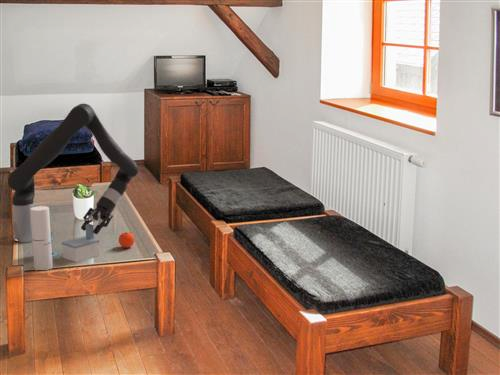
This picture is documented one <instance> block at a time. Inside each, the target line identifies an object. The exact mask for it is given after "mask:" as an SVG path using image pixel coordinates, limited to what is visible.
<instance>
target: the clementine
mask: <svg viewBox="0 0 500 375" xmlns="http://www.w3.org/2000/svg"><path fill="white" fill-rule="evenodd" d="M118 244H119V245H120V246H121V247H122V248H125V249H126V248H127V249H128V248H131V247H132V246H133V245H134V244H135V236H134V234H132V233H131V231H124V232H122V233H121V234H119V237H118Z"/></svg>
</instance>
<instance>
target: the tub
mask: <svg viewBox="0 0 500 375" xmlns="http://www.w3.org/2000/svg"><path fill="white" fill-rule="evenodd" d="M61 245H62V257H63V259H66V260H68V261H72V262H75V263H77V262H81V261H85V260H88V259H89V260H90V259H93V258H96V257H99V256H100V246H99V245H100V241H99V242H98V243H94V244H90V245H87V246H83V247H79V248H72V247H69V246H66V245H63V244H62V243H61Z"/></svg>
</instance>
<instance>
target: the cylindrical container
mask: <svg viewBox="0 0 500 375" xmlns="http://www.w3.org/2000/svg"><path fill="white" fill-rule="evenodd" d="M30 210H31V225H32V240H33V241H32V252H33V268H34V270H35V271H37V270H46V271H49V269H50V270H52V269H53V268H54V267H53V258H52V250H53V249H52V242H51V233H50V230H51V220H50V208H49V206H45V205H39V206H34V207H33V208H31V209H30Z"/></svg>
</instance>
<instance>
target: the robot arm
mask: <svg viewBox="0 0 500 375" xmlns="http://www.w3.org/2000/svg"><path fill="white" fill-rule="evenodd" d="M83 128H87V129H88V130H89V132H90V133H91V134H92V135H93V137H94V140H96V142H97V144H98V146H99V148H100V150H101V152H103V154H104V155H105V157H107V159H108V160H109V161H110V162H111V163H112V164H116V165H117V167H119V169H118V170H117V172H116V174H115V176H114V178H113V179H112V181H111V182H110V184H109V185H108V187H107V188H106V189H105V191H104V192H103V193H102V195H101V196H100V198H99V199H98V200H97V201H96V204H95V206H96V207H95V209H93V208H92V207H89V209H88V210H87V212H86V213H85V214H84V216H83V217H82V219H83V220H84V222H83V224H82V225H81V227H80V229H81V230H82V231H85V232H86V226H85V225H87V224H91V223H92V222H96V221H98V224H97V225H96V226H95V227H94V230H93V232H94V235H98V234H99V232H100V231H101V230H102V229H103V228H107V227H108V226H109V223H110V222H111V220H112V219H113V217H114V215H113V214H112V212H113V211H114V210H115V208H116V207H117V206H118V204H119V202H120V200H121V198H122V196H123V195H124V193H125V191H127V188H128V185H129V183H130V181H132V179H133V178H134V177H136V176H137V175H138V174H139V166H138V165H137V163H136V162H135V161H134V159H132V158H131V156H129V155H128V154H126V152H124V150H123V149H122V148H121V147H120V146H119V144H118V143H117V142H116V141H115V139H114V138H113V137H112V136H111V135H110V134H109V131H107V129H106V128H105V126H104V125H103V123H102V122H101V120H100V118H99V117H98V115H97V113H96V112H95V110H94V108H93V107H92V106H91V105H89V104H87V103H80V104H77V105H75V106H74V107H73V108H72V109H71V110H70V111H69V112H68V114H67V115H66V116H65V118H64V119H63V120H62V122H61V123H60V124H59V125H58V126H57V127H56V128H55V129H54V130H52V131H51V132H50V133H48V135H47V136H46V137H45V138H44V139H42V141H41V142H40V143H39V144H37V146H36V147H35V149H34V150H33V151H31V153H30V154H29V155H28V157H27V158H26V159H25V160H24V162H22V163H21V164H20V165H19V166H17V168H15V169H14V170H13V171H12V172H10V173H9V175H8V178H7V185H8V187H9V188H10V189H11V190H13V191H14V194H13V196H12V199H11V203H12V216H13V220H12V227H13V239H14V240H15V239H17V240H18V241H19V242H18V243H31V242H33V240H32V225H31V210H30V209H31V208H33V207H35V205H34V198H35V190H36V189H35V188H36V187H35V177H34V176H35V175H36V174H37V173H38V172H39V171H41V170H42V169H44V168H45V167H46V166H48V165H49V164H50V163H52V162H53V161H54V160H55V159H56V158H57V157H58V156H59V155H60V154H61V153H63V150H65V148H66V147H67V145H68V144H69V141H71V139H72V137H74V136H75V135H76V134H77V133H78V132H79V131H80V130H81V129H83ZM14 240H13V241H14Z"/></svg>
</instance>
